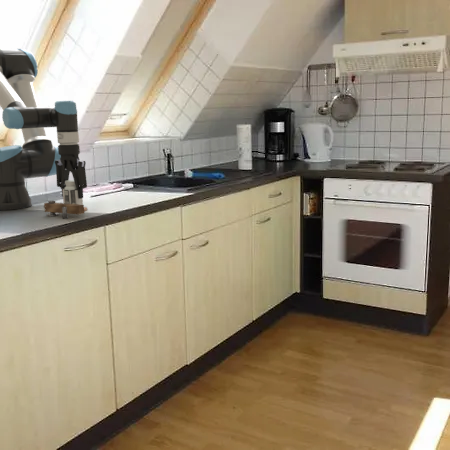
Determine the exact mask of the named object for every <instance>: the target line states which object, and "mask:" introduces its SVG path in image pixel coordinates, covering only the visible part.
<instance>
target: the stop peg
mask: <svg viewBox="0 0 450 450" xmlns="http://www.w3.org/2000/svg"><path fill="white" fill-rule="evenodd" d="M61 214H62V219H64V220H67V219H69V216H68V214H67V207H62V213H61Z"/></svg>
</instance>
